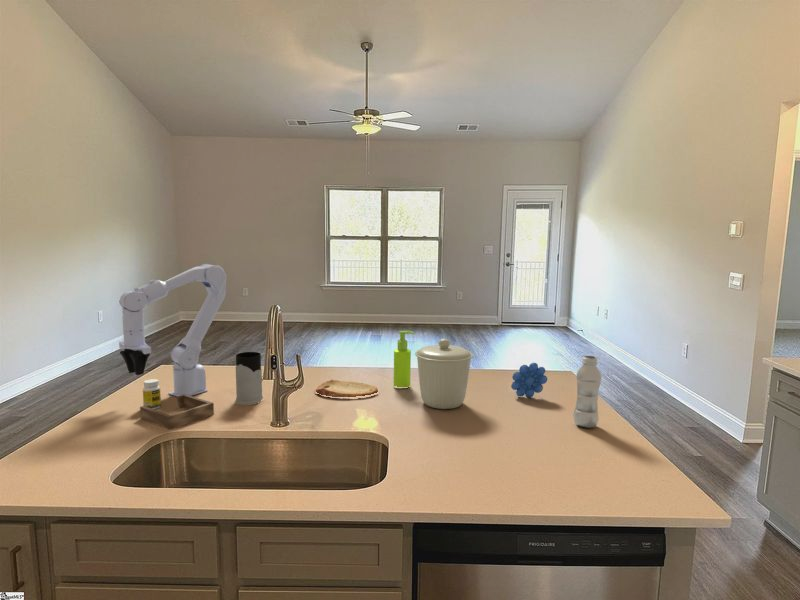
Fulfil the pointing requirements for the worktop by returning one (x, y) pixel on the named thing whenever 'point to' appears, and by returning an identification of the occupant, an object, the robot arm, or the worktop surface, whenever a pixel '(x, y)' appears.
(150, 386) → the supplement bottle
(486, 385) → the worktop surface
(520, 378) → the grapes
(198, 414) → the walled box
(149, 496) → the worktop surface
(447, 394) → the canister
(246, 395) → the grey and black cylinder
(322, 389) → the slice of bread
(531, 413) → the worktop surface
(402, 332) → the soap dispenser
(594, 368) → the plastic bottle
